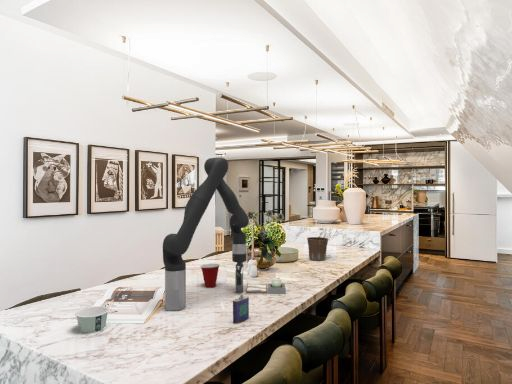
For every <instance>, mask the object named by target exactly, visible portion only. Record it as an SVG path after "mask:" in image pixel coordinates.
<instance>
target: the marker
mask: <svg viewBox="0 0 512 384" xmlns="http://www.w3.org/2000/svg"><path fill="white" fill-rule="evenodd" d="M234 274H235V278H234V279H235V283H234V284H235V293H236V294H237V293H238V294H242V293H243V292H244V271H243V272H242V274H241V276H242V277H241V285H237V278H236V270H234ZM238 275H240V274H238Z"/></svg>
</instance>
